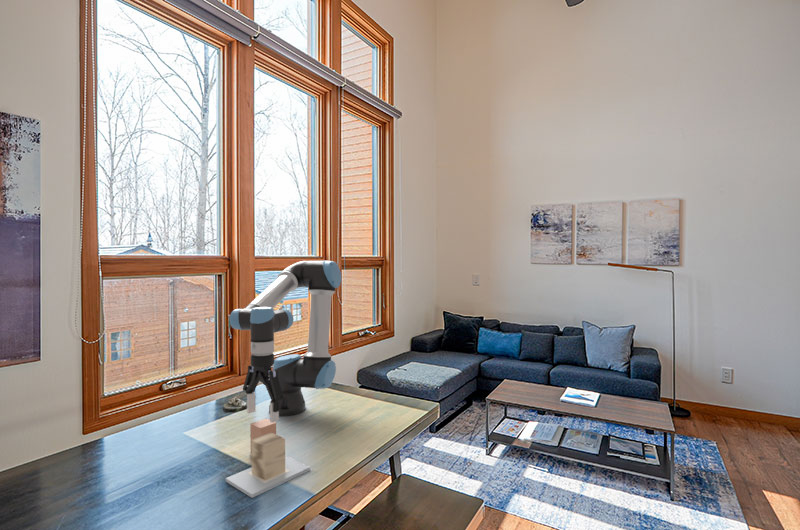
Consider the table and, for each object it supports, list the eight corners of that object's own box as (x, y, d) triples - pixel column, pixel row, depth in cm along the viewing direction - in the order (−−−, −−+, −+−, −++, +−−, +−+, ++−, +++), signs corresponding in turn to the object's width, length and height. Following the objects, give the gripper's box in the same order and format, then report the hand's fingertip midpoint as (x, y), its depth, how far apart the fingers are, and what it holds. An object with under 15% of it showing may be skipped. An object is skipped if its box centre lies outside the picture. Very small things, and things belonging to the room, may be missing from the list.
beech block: (251, 472, 132) (251, 439, 131) (271, 464, 137) (271, 432, 137) (265, 480, 127) (264, 446, 127) (285, 471, 133) (285, 438, 132)
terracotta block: (250, 453, 147) (250, 423, 147) (266, 447, 152) (265, 418, 152) (260, 458, 144) (260, 428, 143) (276, 451, 148) (276, 422, 148)
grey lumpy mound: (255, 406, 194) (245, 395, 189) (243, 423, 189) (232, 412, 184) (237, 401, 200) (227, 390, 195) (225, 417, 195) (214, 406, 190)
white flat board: (225, 481, 129) (225, 477, 129) (282, 457, 144) (282, 453, 144) (252, 498, 120) (252, 494, 120) (310, 470, 135) (310, 466, 135)
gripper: (232, 350, 152) (232, 411, 152) (274, 360, 136) (274, 428, 136) (251, 347, 158) (251, 406, 158) (294, 356, 142) (294, 422, 142)
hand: (262, 416), depth 147 cm, fingers open, 13 cm apart
